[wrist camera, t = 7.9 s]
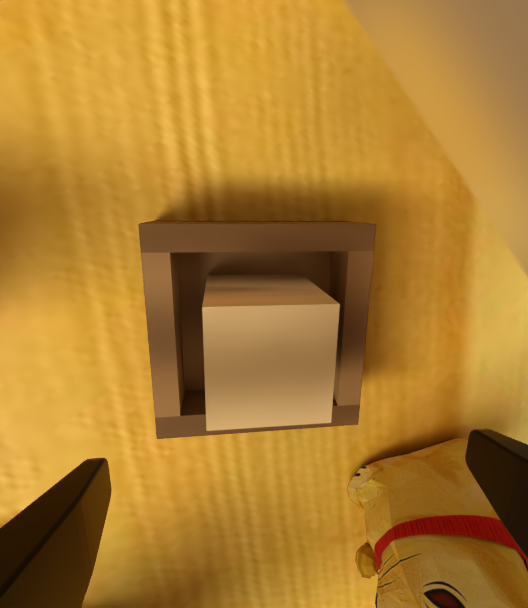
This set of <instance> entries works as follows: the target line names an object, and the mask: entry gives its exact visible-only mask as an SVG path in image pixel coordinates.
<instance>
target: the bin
mask: <svg viewBox="0 0 528 608" xmlns="http://www.w3.org/2000/svg"><path fill="white" fill-rule="evenodd" d="M375 231H376V224H367V223H357V222H294V221H151V222H146V223H140V224H139V235H140V247H141V259H142V270H143V282H144V294H145V306H146V317H147V329H148V341H149V352H150V364H151V376H152V387H153V399H154V411H155V422H156V434H157V439H163V438H177V437H191V436H205V435H219V434H233V433H247V432H260V431H274V430H288V429H302V428H316V427H330V426H344V425H358V419H359V408H360V397H361V386H362V374H363V363H364V352H365V341H366V330H367V319H368V308H369V297H370V286H371V275H372V264H373V253H374V242H375ZM207 275H303V276H305V277H306V278H307V279H309V280H310V281H311V282H312V283H314V284H315V285H316V286H317V287H319V288H320V289H321V290H323V291H324V292H325V293H326V294H328V295H329V296H330V297H331V298H333V299H334V300H335V301H337V302H338V303H339V304H340V309H339V323H338V337H337V350H336V364H335V377H334V391H333V405H332V418H331V423H321V424H306V425H290V426H275V427H260V428H244V429H229V430H214V431H206V402H205V373H204V344H203V315H202V305H203V299H204V293H205V287H206V281H207Z"/></svg>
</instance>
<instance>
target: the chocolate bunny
mask: <svg viewBox="0 0 528 608" xmlns="http://www.w3.org/2000/svg"><path fill="white" fill-rule="evenodd" d="M467 443H468V439H461V438H456V439H453V440H449V441H446V442H443V443H440V444H437V445H433V446H430V447H427V448H424V449H421V450H418V451H415V452H412V453H409V454H405V455H400V456H395V457H390V458H386V459H383V460H379V461H376V462H373V463H371V464H368V465H366V466H363V467H361V468H360V469H359V470H358V471H357V472H356V473H355V474H354V476H353V477H352V478H351V479H350V482H349V484H348V487H347V489H348V496H349V498H350V499H351V500H352V501H353V502H354V503H355V504H356V505H357V506H358V507H359V508H360V510H361V511H362V512H363V514H364V515H365V523H366V535H367V543H365V544H364V545H362V546H361V547H360V548H359V550H358V551H357V553H356V564H357V567H358V569H359V571H360V573H361V575H362V577H365V578H369V579H370V578H371V576H375V574H378V584H377V593H376V601H375V604H376V608H528V558H527V557H526V555H525V554H524V553H523V551H522V550H521V549H520V547H519V546H518V545H517V543H516V542H515V540H514V539H513V538H512V536H511V535H510V533H509V532H508V531H507V529H506V528H505V526H504V525H503V523H502V522H501V520H500V519H499V517H498V516H497V514H496V512H495V511H494V509H493V507H492V506H491V504H490V503H489V501H488V499H487V498H486V496H485V494H484V493H483V491H482V490H481V488H480V486H479V485H478V483H477V481H476V480H475V478H474V477H473V475H472V473H471V472H470V470H469V468H468V467H467V464H466V461H465V454H466V448H467ZM524 558H525V559H524ZM523 560H524V561H523ZM379 569H380V571H379V572H378V570H379Z"/></svg>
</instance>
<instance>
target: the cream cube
mask: <svg viewBox="0 0 528 608" xmlns="http://www.w3.org/2000/svg"><path fill="white" fill-rule="evenodd" d="M339 309H340V304H339V303H338V302H337V301H335V300H334V299H333V298H331V297H330V296H329V295H328V294H326V293H325V292H324V291H323V290H321V289H320V288H319V287H317V286H316V285H315V284H314V283H312V282H311V281H310V280H309V279H307V278H306V277H305V276H303V275H207V281H206V287H205V293H204V299H203V305H202V315H203V344H204V373H205V402H206V431H214V430H229V429H244V428H260V427H275V426H290V425H306V424H321V423H331V418H332V405H333V391H334V377H335V364H336V350H337V337H338V323H339Z"/></svg>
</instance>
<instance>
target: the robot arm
mask: <svg viewBox="0 0 528 608" xmlns="http://www.w3.org/2000/svg"><path fill="white" fill-rule="evenodd" d="M465 461H466V464H467V467H468V468H469V470H470V472H471V473H472V475H473V477H474V478H475V480H476V481H477V483H478V485H479V486H480V488H481V490H482V491H483V493H484V494H485V496H486V498H487V499H488V501H489V503H490V504H491V506H492V507H493V509H494V511H495V512H496V514H497V516H498V517H499V519H500V520H501V522H502V523H503V525H504V526H505V528H506V529H507V531H508V532H509V533H510V535H511V536H512V538H513V539H514V540H515V542H516V543H517V545H518V546H519V547H520V549H521V550H522V551H523V553H524V554H525V555H526V557H527V558H528V445H527V444H524V443H522V442H520V441H517V440H515V439H512V438H510V437H507V436H505V435H502V434H500V433H498V432H495V431H493V430H490V429H475V430H472V431H471V432H470V434H469V438H468V443H467V448H466V454H465ZM110 498H111V482H110V474H109V466H108V462H107V459H105V458H93V459H87V460H85V461H84V462H83V463H81V464H80V465H79V466H78V467H76V468H75V469H74V470H73V471H71V472H70V473H69V474H68V475H66V476H65V477H64V478H63V479H61V480H60V481H59V482H58V483H56V484H55V485H54V486H53V487H51V488H50V489H49V490H48V491H46V492H45V493H44V494H43V495H41V496H40V497H39V498H38V499H36V500H35V501H34V502H32V503H31V504H30V505H29V506H27V507H26V508H25V509H24V510H22V511H21V512H20V513H19V514H17V515H16V516H15V517H14V518H12V519H11V520H10V521H9V522H7V523H6V524H5V525H4V526H2V527H1V528H0V608H81V606H82V603H83V600H84V597H85V594H86V591H87V588H88V585H89V582H90V579H91V576H92V573H93V569H94V565H95V561H96V557H97V553H98V549H99V545H100V540H101V536H102V532H103V528H104V524H105V519H106V515H107V511H108V507H109V503H110Z"/></svg>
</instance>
